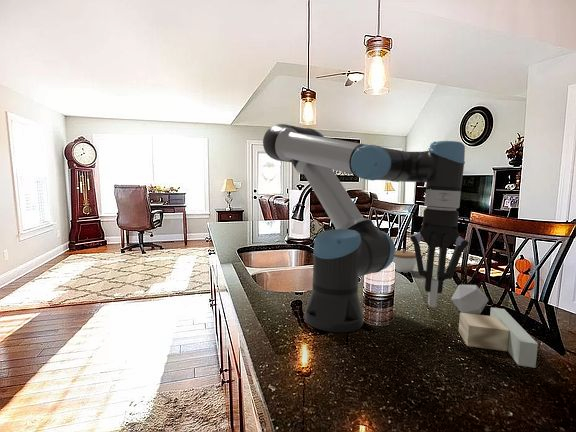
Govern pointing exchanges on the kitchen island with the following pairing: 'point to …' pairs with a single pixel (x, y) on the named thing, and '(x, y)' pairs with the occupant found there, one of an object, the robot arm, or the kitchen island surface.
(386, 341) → the kitchen island surface
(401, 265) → the lidded jar
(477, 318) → the beech block
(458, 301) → the grey faceted block
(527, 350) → the sage board
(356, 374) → the kitchen island surface
